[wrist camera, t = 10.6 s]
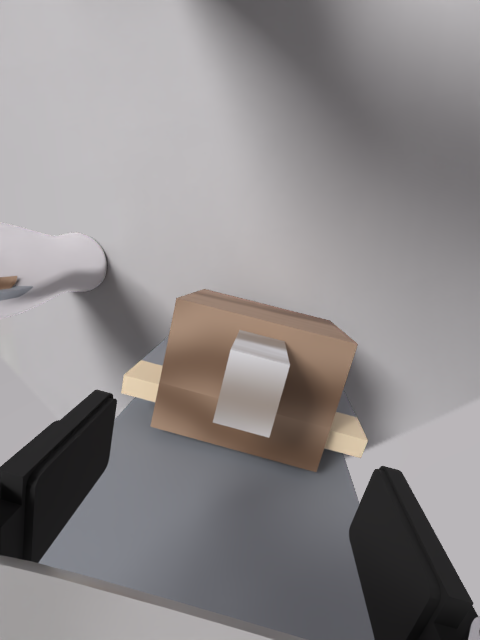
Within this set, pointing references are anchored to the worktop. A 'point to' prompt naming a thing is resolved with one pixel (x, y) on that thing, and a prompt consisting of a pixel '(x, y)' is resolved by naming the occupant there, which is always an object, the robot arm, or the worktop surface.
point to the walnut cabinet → (252, 377)
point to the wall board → (222, 523)
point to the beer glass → (45, 267)
